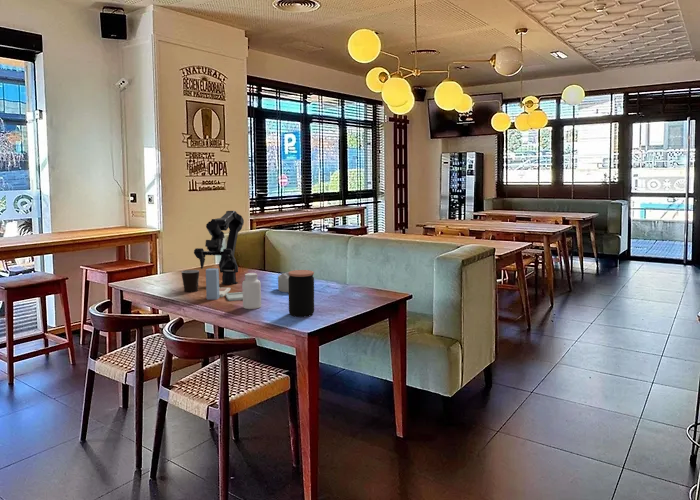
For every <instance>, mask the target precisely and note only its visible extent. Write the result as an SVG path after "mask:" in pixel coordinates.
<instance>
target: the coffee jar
mask: <svg viewBox="0 0 700 500" xmlns="http://www.w3.org/2000/svg"><path fill="white" fill-rule="evenodd" d="M287 272H288V274H289V276H290V277H289V278H288V284H289V293H288V312H289V315H290V316H292V317H295V316H296V317H297V318H304V316H306V317H310V316H309V315H311V316H313V314H314V312H315V277H314V275H315V272H314V271H313V270H310V269H307V270H306V269H297V270H295V269H294V270H290V271H287Z"/></svg>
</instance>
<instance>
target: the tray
mask: <svg viewBox="0 0 700 500" xmlns="http://www.w3.org/2000/svg"><path fill="white" fill-rule="evenodd" d="M224 297H226V300H227V301H228V302H232V301H243V291H241V292H240V291H238V292H237V291H236V292H228V293H225V296H224Z"/></svg>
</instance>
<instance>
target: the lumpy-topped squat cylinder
mask: <svg viewBox="0 0 700 500" xmlns="http://www.w3.org/2000/svg"><path fill="white" fill-rule="evenodd" d="M288 272H289V271H287V272H285V273H284V272H282V273H281V274H279V275H278V276H277V287H278V289H277V290H278V291H279V292H282V293H287V292H288V294H289V284H288V278H289V277H290V276H289V274H288Z"/></svg>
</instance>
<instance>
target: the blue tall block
mask: <svg viewBox="0 0 700 500" xmlns="http://www.w3.org/2000/svg"><path fill="white" fill-rule="evenodd" d="M219 288H220V269H219V268H218V267H217V268H215V267H212V268H210V267H209V268H206V269H205V291H206V293H205V294H206V296H207V297H206V296H205V297H206V300H219V299H220V298H221V297H220V296H219Z"/></svg>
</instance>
